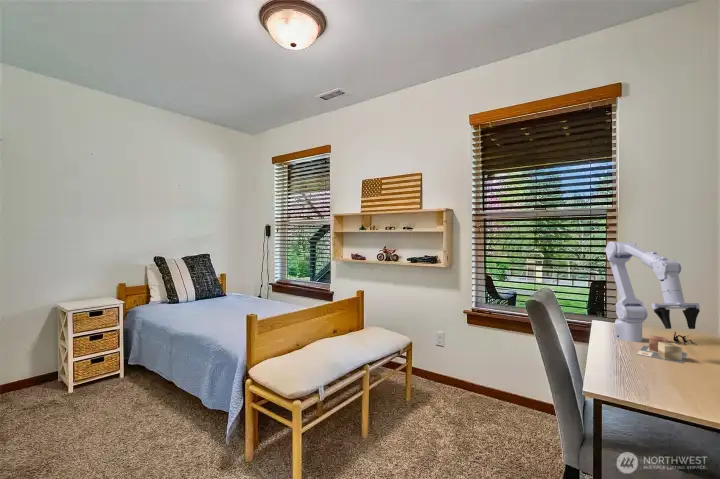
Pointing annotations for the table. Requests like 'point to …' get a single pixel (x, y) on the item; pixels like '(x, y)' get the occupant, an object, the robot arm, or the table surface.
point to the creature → (682, 338)
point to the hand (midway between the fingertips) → (680, 328)
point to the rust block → (656, 342)
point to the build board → (652, 354)
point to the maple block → (670, 351)
